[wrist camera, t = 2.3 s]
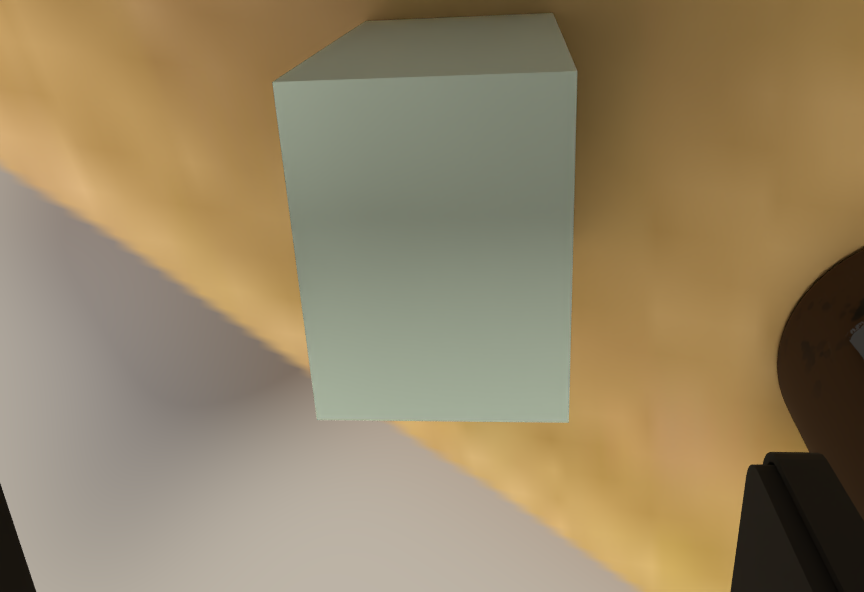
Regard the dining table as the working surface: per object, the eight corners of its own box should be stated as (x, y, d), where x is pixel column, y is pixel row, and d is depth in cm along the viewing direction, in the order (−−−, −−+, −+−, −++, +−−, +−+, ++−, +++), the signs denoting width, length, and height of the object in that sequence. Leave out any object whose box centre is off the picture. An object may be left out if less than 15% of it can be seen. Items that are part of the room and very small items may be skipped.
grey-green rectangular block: (552, 12, 25) (577, 71, 15) (549, 269, 29) (567, 450, 19) (365, 20, 26) (272, 82, 16) (385, 271, 30) (320, 447, 20)
